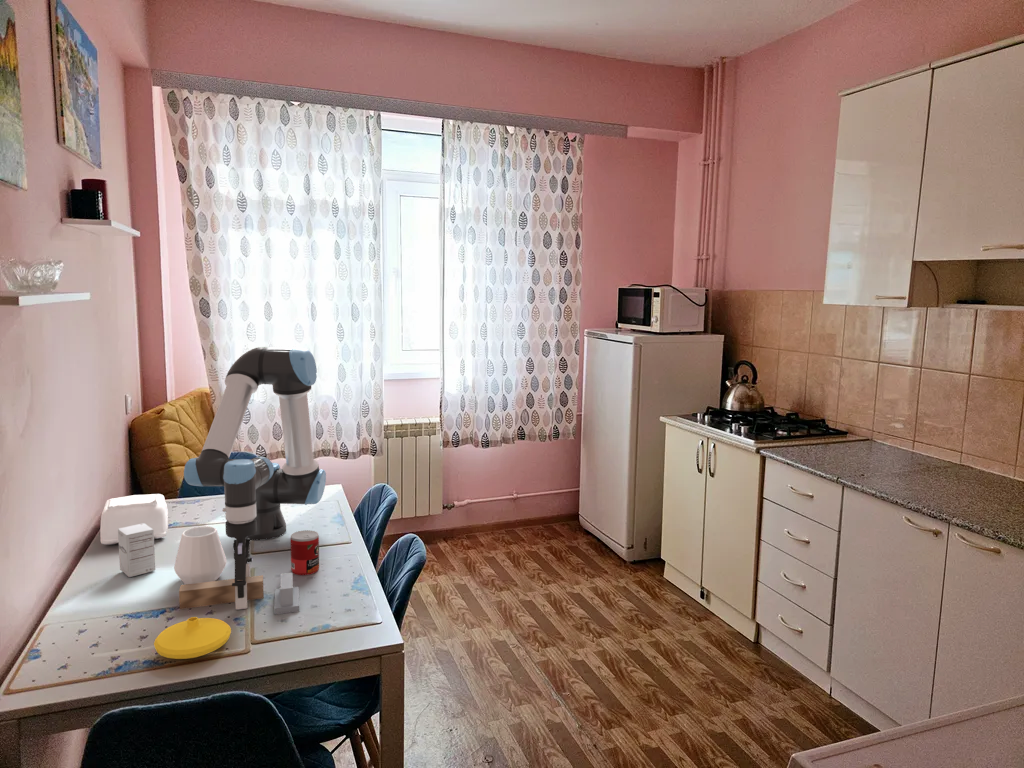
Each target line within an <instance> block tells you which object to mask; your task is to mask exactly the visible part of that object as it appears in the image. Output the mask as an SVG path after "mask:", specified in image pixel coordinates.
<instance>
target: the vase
mask: <svg viewBox="0 0 1024 768" xmlns="http://www.w3.org/2000/svg"><path fill="white" fill-rule="evenodd" d="M231 633H232V628H231V626H230V624H228V623H227V622H225V621H224V620H221V619H219V618H213V617H200V618H199V617H198V616H191V617H189V618H187V619H186V620H183V621H180V622H176V623H175V624H172V625H170V626H168V627H167V628H165V629H163V630H162V631H161V632H160V633H159V634H158V635H157V637H156V638H155V640H154V642H153V645H154V649H155V652H156V653H157V654H158V655H160V656H161V657H164V658H167V659H176V660H187V659H194V658H195V659H196V658H199V657H202V656H205V655H207V654H209V653H212V652H215V651H216V650H218V649H220V648H221V647H222V646H224V645H225V644H226V643H227V642H228V641H229V639H230V636H231Z"/></svg>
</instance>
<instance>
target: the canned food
mask: <svg viewBox="0 0 1024 768" xmlns="http://www.w3.org/2000/svg"><path fill="white" fill-rule="evenodd" d="M319 535H320V534H319V533H318V531H315V530H298V531H296V532H293V533H291V534H290V569H291V573H293V575H297V576H309V575H312V574H315V573H317V572H318V571H319V569H320V539H319V537H320V536H319Z"/></svg>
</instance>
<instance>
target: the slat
mask: <svg viewBox="0 0 1024 768" xmlns="http://www.w3.org/2000/svg"><path fill="white" fill-rule="evenodd" d="M238 581H241V580H238ZM232 583H235V578H229V579H221V580H219V579H218V580H216V581H211V582H202V583H194V584H181V585H180V587H179V591H178V599H179V610H183V609H184V610H185V609H191V608H198V607H206V606H215V605H216V606H217V605H222V604H231V603H236V602H235V586H232ZM246 583H247V601H253V600H261V599H264V593H265V592H264V575H262V574H261V575H254V576H250V577H246Z"/></svg>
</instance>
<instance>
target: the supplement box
mask: <svg viewBox="0 0 1024 768" xmlns="http://www.w3.org/2000/svg"><path fill="white" fill-rule="evenodd" d="M118 540H119V543H118V555H119V557H118V558H119V570H120V571H121V572H123V573H124V574H125V576H127V577H128V578H131V577H135V576H140V575H144V574H148V573H152V572H155V571H156V558H155V557H156V556H155V555H156V554H155V539H154V531H153V529H152V528H151V527H149V526H147V525H146V524H145V523H143V524H137V525H133V526H128V527H124V528H119V529H118Z"/></svg>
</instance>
